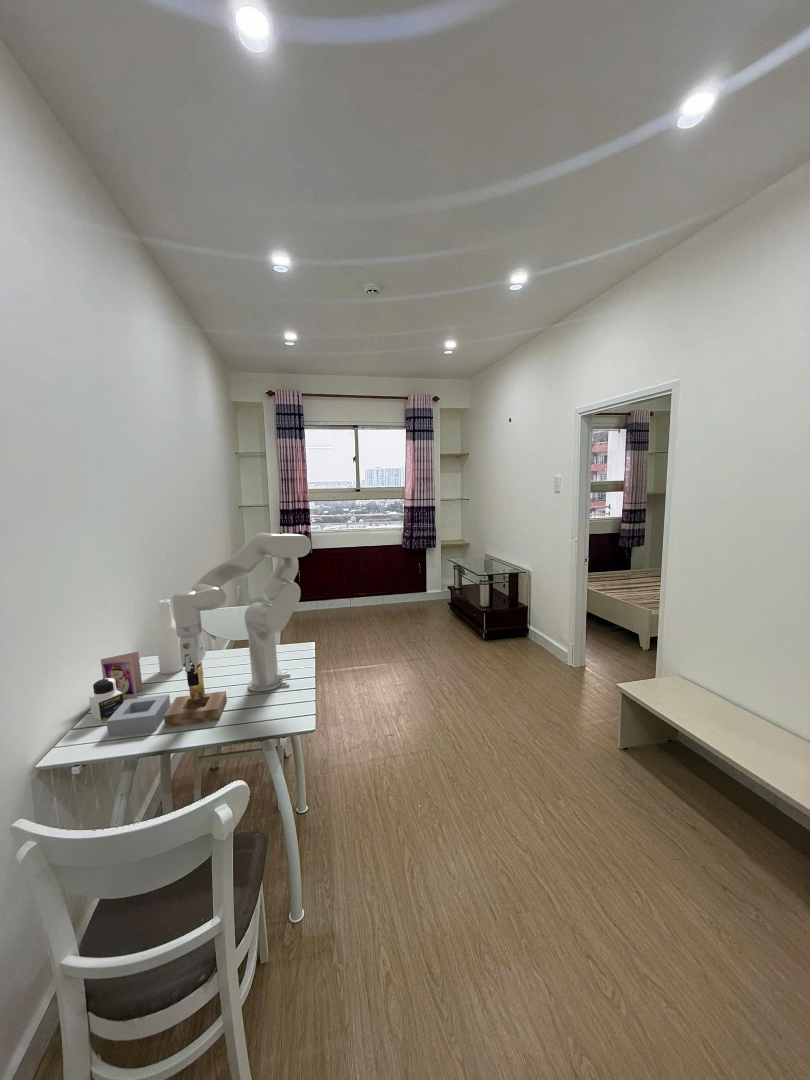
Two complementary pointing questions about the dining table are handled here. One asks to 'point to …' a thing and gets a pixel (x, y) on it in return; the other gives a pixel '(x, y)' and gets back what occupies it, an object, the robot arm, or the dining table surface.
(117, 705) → the medicine bottle
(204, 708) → the brown hollow frame
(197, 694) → the brass axle
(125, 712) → the slate seat block
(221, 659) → the dining table surface
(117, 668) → the greeting card
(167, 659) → the alcohol
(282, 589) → the robot arm
